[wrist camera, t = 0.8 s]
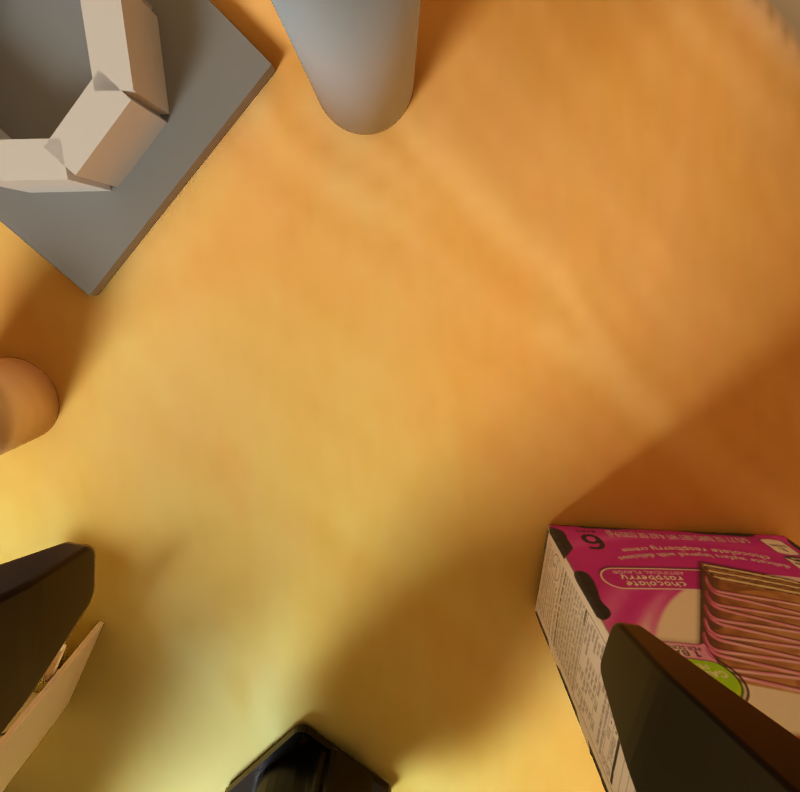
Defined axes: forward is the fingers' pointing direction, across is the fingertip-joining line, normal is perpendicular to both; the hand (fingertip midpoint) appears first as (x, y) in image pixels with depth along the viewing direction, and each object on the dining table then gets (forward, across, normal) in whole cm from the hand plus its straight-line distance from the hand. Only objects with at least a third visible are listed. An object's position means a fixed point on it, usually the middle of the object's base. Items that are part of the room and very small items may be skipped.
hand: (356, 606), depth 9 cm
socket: (+13, +13, -10) cm, 21 cm away
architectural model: (+14, +13, +15) cm, 24 cm away
